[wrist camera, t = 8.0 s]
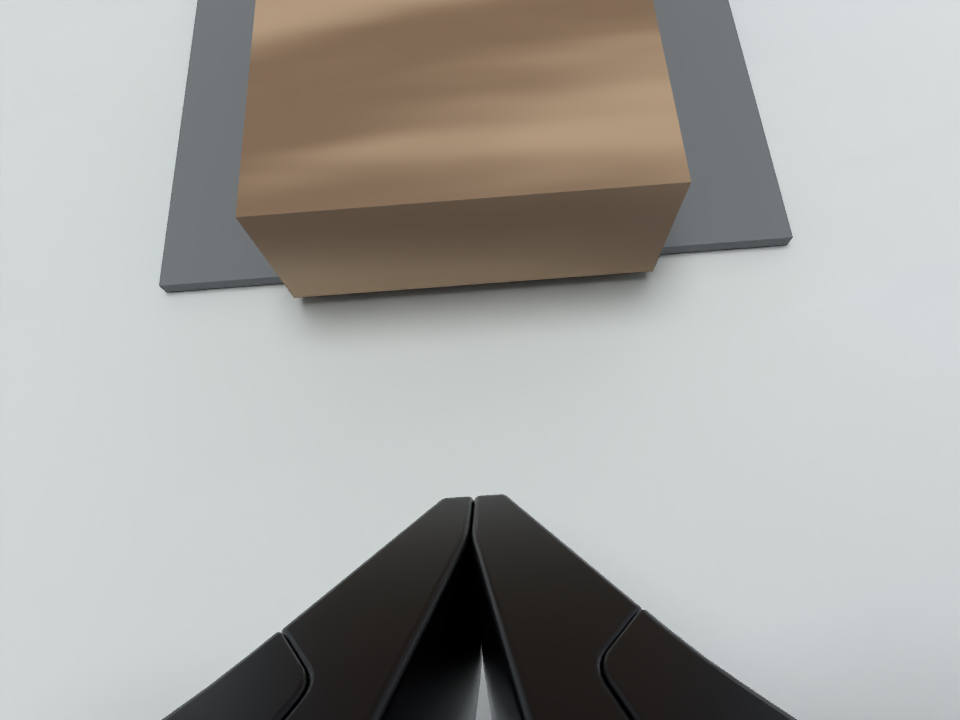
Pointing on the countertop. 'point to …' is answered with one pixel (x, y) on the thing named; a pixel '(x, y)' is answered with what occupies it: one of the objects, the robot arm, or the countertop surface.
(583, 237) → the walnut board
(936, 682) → the countertop surface
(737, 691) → the robot arm
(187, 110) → the mat
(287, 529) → the countertop surface
